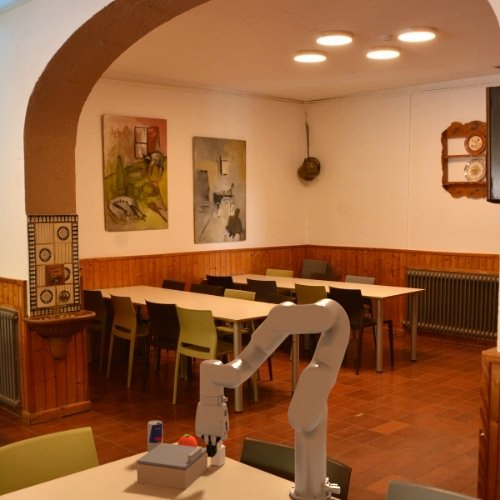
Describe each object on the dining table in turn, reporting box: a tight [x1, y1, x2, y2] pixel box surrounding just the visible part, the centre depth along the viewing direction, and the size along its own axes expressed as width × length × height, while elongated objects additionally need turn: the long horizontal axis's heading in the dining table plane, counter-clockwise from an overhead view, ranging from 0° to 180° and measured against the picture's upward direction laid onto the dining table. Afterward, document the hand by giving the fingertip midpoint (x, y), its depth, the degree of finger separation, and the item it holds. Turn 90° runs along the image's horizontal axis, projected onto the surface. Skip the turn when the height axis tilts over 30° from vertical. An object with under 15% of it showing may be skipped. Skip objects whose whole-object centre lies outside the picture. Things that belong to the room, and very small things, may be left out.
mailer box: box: [136, 452, 208, 490], centre depth 214 cm, size 17×17×6 cm
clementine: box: [177, 433, 198, 447], centre depth 233 cm, size 8×7×7 cm
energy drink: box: [146, 419, 164, 453], centre depth 231 cm, size 5×5×12 cm
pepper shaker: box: [210, 440, 226, 467], centre depth 223 cm, size 4×4×10 cm
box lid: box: [136, 442, 206, 469], centre depth 213 cm, size 17×17×3 cm
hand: (211, 455), depth 209 cm, fingers closed
